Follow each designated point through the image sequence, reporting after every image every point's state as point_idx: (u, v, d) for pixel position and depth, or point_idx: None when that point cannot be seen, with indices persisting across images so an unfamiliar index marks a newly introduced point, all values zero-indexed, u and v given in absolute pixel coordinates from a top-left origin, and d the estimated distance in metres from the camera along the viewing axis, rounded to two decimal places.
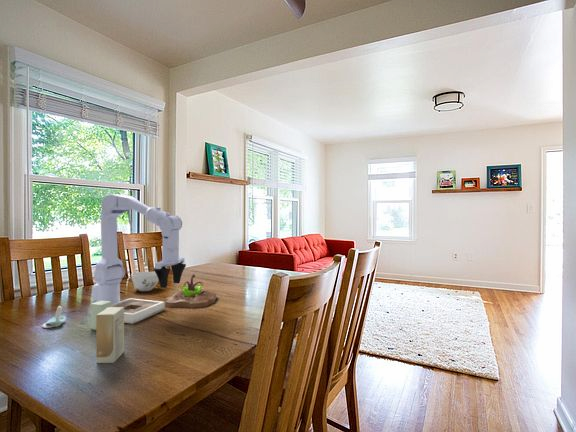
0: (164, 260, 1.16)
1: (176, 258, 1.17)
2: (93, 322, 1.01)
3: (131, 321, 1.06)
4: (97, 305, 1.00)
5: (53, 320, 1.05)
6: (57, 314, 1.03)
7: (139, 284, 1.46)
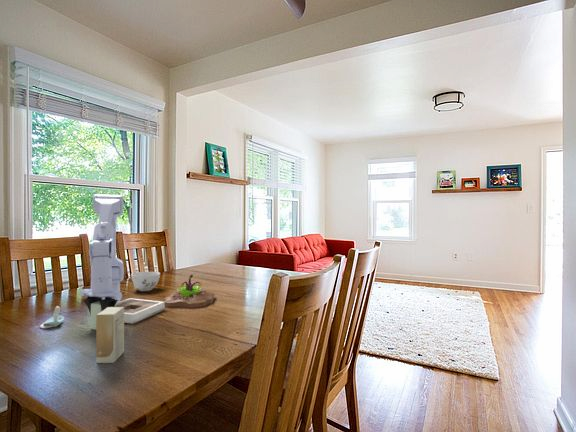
0: None
1: (92, 290, 1.00)
2: (93, 322, 1.01)
3: (131, 321, 1.06)
4: (97, 305, 1.00)
5: (51, 320, 1.05)
6: (55, 314, 1.03)
7: (139, 284, 1.46)
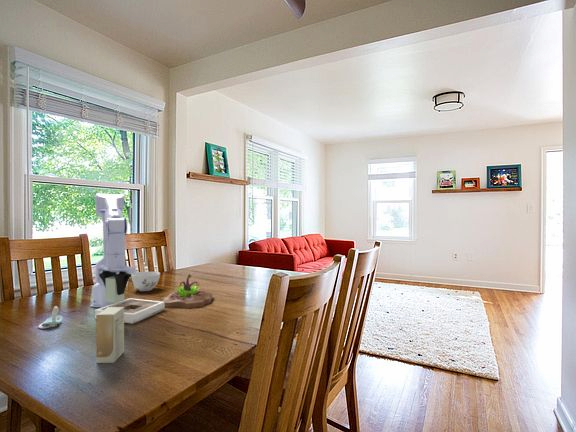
0: None
1: (107, 265, 1.06)
2: (108, 295, 1.06)
3: (131, 321, 1.06)
4: (111, 279, 1.06)
5: (49, 320, 1.05)
6: (53, 314, 1.03)
7: (139, 284, 1.46)
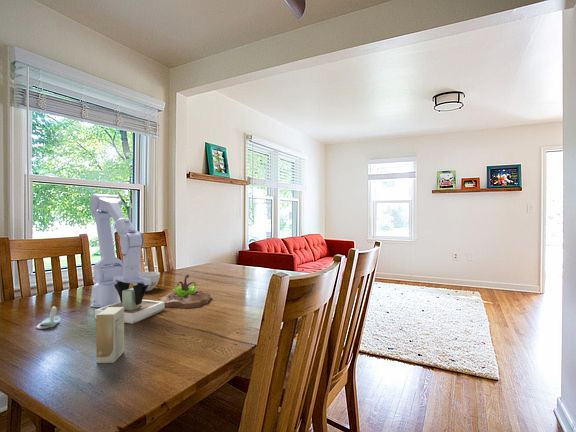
0: None
1: (124, 276, 1.13)
2: (124, 307, 1.14)
3: (131, 321, 1.06)
4: (128, 292, 1.14)
5: (48, 321, 1.04)
6: (51, 315, 1.03)
7: None
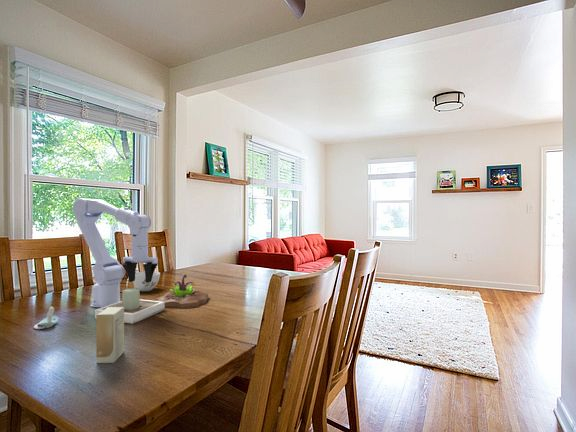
0: None
1: (133, 256, 1.19)
2: (124, 307, 1.14)
3: (131, 321, 1.06)
4: (128, 292, 1.14)
5: (45, 321, 1.04)
6: (49, 315, 1.02)
7: (139, 284, 1.46)
